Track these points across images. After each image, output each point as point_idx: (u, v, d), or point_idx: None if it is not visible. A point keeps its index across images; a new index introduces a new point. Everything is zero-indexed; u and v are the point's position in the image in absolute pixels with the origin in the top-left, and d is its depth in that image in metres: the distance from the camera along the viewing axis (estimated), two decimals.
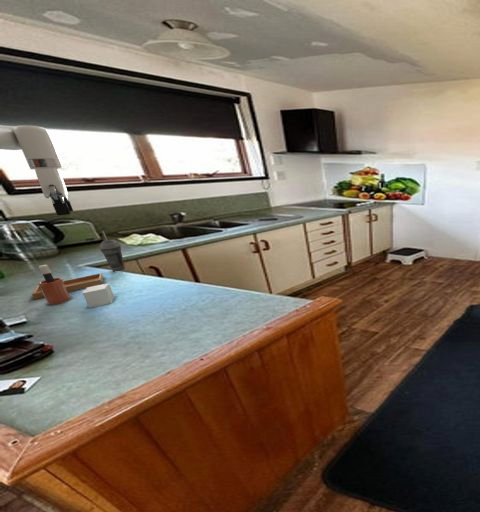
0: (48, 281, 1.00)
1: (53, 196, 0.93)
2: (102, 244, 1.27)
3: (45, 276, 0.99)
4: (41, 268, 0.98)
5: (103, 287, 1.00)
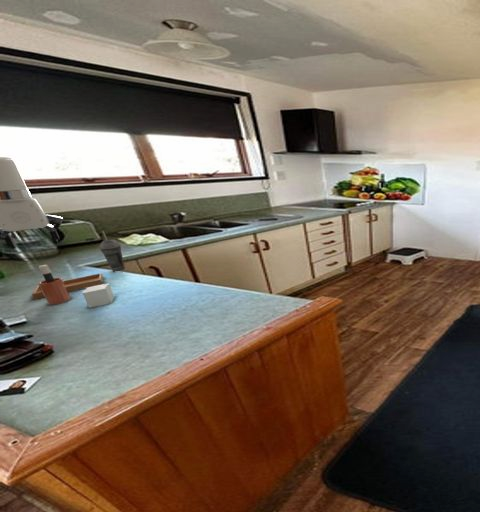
0: (48, 281, 1.00)
1: (61, 222, 0.99)
2: (102, 244, 1.27)
3: (45, 276, 0.99)
4: (41, 268, 0.98)
5: (103, 287, 1.00)
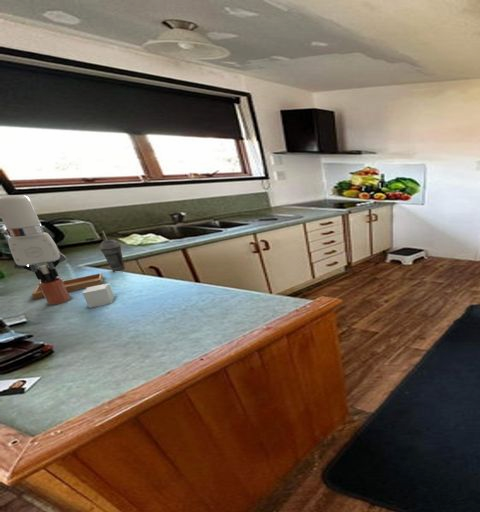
0: (48, 281, 1.00)
1: (61, 261, 1.02)
2: (102, 244, 1.27)
3: (45, 276, 0.99)
4: (41, 268, 0.98)
5: (103, 287, 1.00)
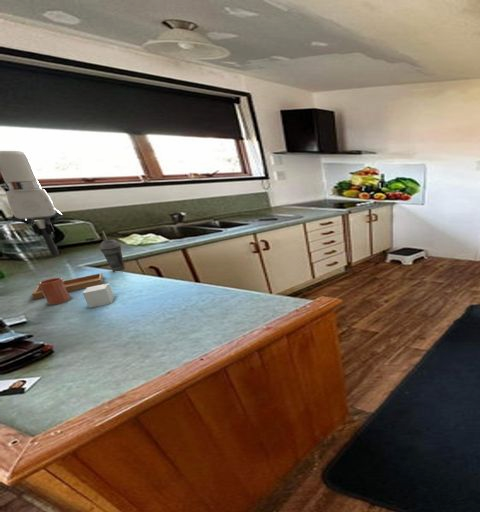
0: (44, 236, 1.06)
1: (57, 217, 1.07)
2: (102, 244, 1.27)
3: (42, 231, 1.05)
4: (38, 222, 1.04)
5: (103, 287, 1.00)
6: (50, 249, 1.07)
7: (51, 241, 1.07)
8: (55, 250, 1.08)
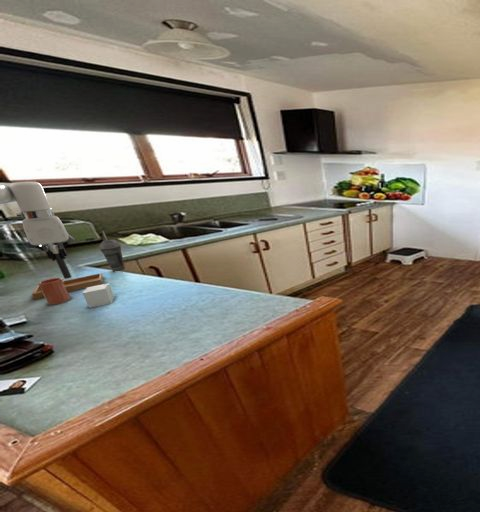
0: (58, 260, 1.11)
1: (70, 242, 1.12)
2: (102, 244, 1.27)
3: (55, 255, 1.10)
4: (52, 248, 1.09)
5: (103, 287, 1.00)
6: (63, 273, 1.12)
7: (64, 265, 1.12)
8: (68, 273, 1.13)
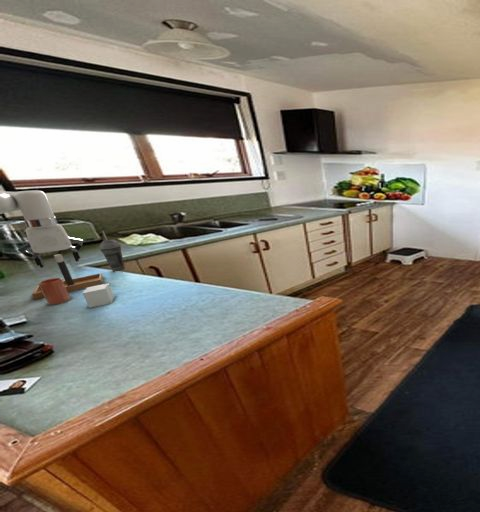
0: (62, 269, 1.12)
1: None
2: (102, 244, 1.27)
3: (59, 264, 1.11)
4: (56, 257, 1.10)
5: (103, 287, 1.00)
6: (67, 281, 1.13)
7: (68, 274, 1.13)
8: (71, 282, 1.15)
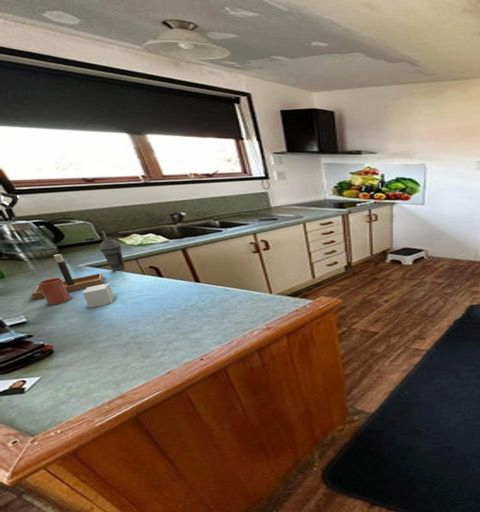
0: (62, 269, 1.12)
1: (17, 200, 1.03)
2: (102, 244, 1.27)
3: (59, 264, 1.11)
4: (56, 257, 1.10)
5: (103, 287, 1.00)
6: (67, 281, 1.13)
7: (68, 274, 1.13)
8: (71, 282, 1.15)
